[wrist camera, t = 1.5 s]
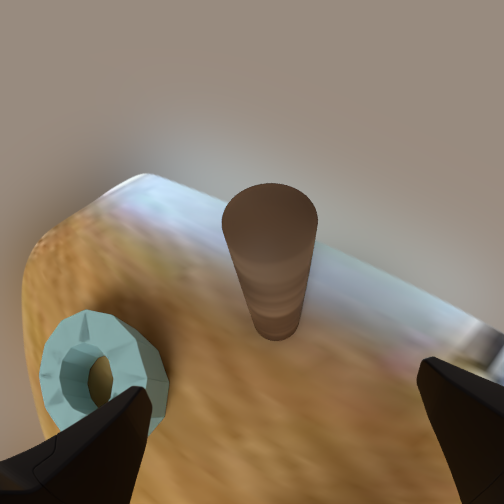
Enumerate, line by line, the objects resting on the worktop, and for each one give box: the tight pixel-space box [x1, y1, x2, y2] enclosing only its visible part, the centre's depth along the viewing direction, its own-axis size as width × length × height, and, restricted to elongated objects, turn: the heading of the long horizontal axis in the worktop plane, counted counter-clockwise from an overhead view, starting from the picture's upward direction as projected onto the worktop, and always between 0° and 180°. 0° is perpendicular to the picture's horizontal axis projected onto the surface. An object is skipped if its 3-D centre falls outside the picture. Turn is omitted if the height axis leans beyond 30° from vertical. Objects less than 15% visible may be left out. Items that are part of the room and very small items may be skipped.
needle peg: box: [222, 183, 318, 341], centre depth 16 cm, size 4×4×13 cm
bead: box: [39, 310, 169, 436], centre depth 18 cm, size 11×11×4 cm
